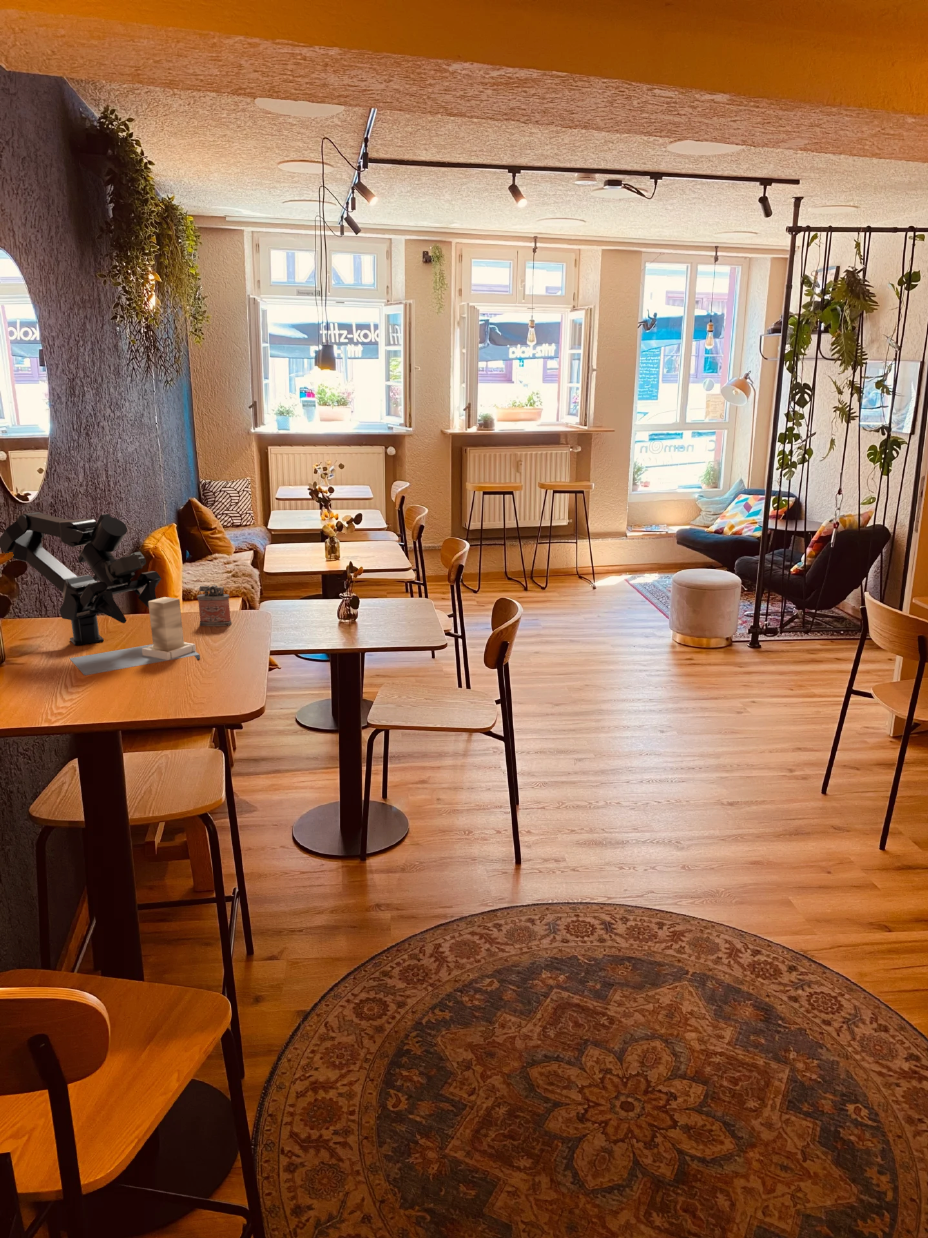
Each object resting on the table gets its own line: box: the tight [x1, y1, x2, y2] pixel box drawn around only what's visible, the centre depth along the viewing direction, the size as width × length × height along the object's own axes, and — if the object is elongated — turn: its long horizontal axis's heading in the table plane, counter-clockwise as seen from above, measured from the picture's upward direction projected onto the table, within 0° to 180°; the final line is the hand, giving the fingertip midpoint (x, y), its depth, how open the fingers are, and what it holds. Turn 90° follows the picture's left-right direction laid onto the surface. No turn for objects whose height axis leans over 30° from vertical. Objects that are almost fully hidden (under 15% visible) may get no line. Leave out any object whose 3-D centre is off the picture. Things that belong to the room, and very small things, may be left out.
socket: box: [142, 641, 197, 661], centre depth 200 cm, size 8×8×2 cm
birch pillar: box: [148, 596, 185, 652], centre depth 199 cm, size 5×5×12 cm
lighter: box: [196, 584, 232, 627], centre depth 226 cm, size 8×3×10 cm, turn 84°
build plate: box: [69, 643, 201, 676], centre depth 198 cm, size 15×24×1 cm, turn 124°
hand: (141, 617), depth 202 cm, fingers open, 9 cm apart
